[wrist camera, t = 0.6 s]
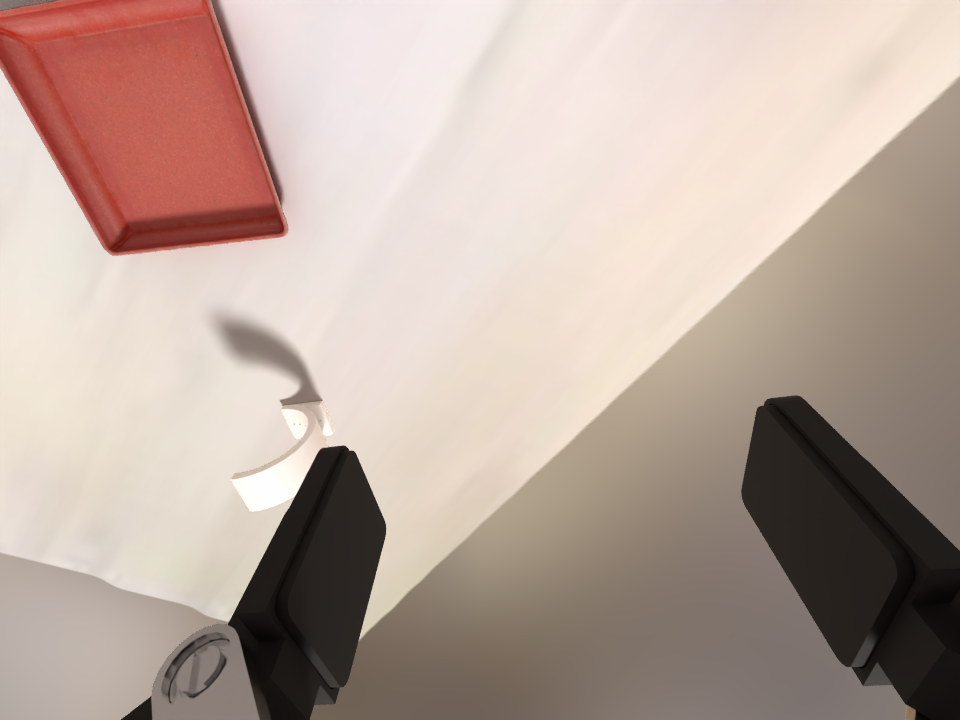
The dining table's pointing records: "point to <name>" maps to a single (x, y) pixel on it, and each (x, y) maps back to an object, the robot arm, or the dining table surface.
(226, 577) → the dining table surface
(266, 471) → the white curved piece
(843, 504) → the robot arm
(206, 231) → the plant saucer
